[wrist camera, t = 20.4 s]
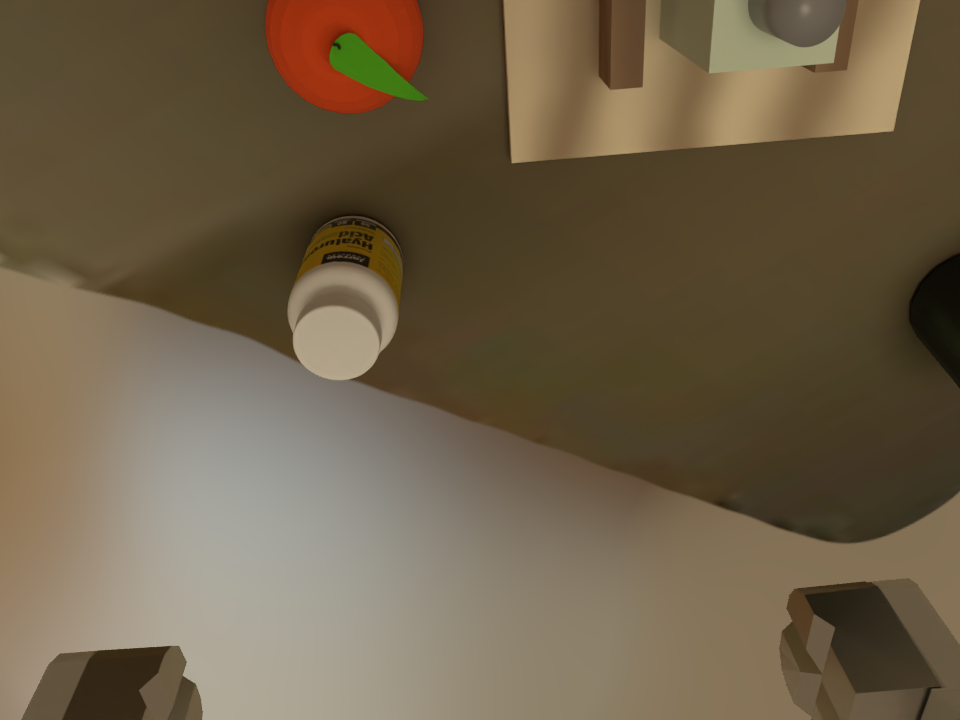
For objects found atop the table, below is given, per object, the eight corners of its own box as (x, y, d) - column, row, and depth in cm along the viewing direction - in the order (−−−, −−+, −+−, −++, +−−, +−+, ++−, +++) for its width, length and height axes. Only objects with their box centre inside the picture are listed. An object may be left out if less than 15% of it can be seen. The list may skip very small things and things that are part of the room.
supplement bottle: (383, 199, 43) (372, 277, 34) (416, 285, 45) (413, 377, 37) (290, 228, 43) (257, 312, 35) (328, 311, 46) (306, 407, 38)
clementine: (470, 15, 38) (478, 42, 32) (392, 133, 41) (386, 178, 35) (325, -97, 35) (304, -91, 29) (252, 38, 38) (219, 68, 32)
